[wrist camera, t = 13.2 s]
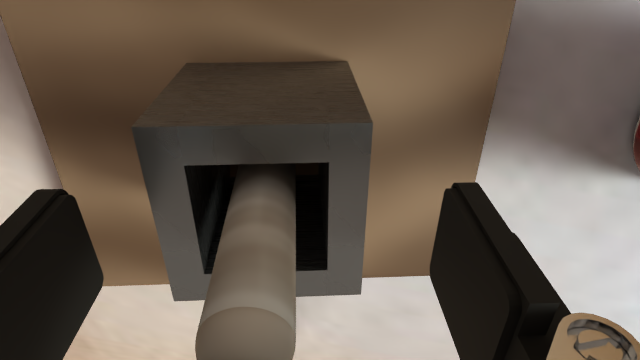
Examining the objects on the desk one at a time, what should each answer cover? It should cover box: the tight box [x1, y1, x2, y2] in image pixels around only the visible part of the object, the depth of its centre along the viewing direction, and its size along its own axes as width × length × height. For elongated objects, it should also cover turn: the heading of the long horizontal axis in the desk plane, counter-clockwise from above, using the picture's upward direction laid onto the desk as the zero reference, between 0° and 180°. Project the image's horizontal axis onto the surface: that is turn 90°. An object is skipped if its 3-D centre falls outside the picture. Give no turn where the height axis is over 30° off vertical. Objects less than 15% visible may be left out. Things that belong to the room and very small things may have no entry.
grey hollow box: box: [131, 61, 373, 301], centre depth 14 cm, size 6×6×6 cm
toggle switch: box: [0, 0, 516, 360], centre depth 13 cm, size 16×18×12 cm
